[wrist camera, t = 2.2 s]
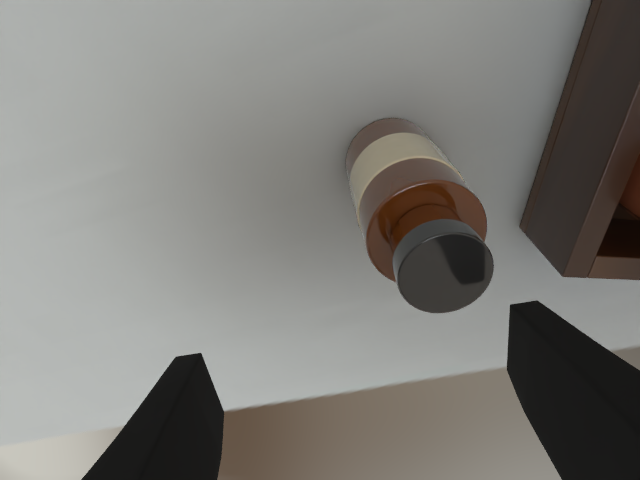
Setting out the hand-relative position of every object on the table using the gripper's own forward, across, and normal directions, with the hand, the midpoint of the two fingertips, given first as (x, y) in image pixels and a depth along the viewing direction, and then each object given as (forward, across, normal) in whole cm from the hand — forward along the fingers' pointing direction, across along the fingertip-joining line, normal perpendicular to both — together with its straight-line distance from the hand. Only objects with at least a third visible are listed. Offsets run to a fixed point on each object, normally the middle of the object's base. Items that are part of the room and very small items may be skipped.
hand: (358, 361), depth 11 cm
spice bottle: (+10, -3, -1) cm, 11 cm away
